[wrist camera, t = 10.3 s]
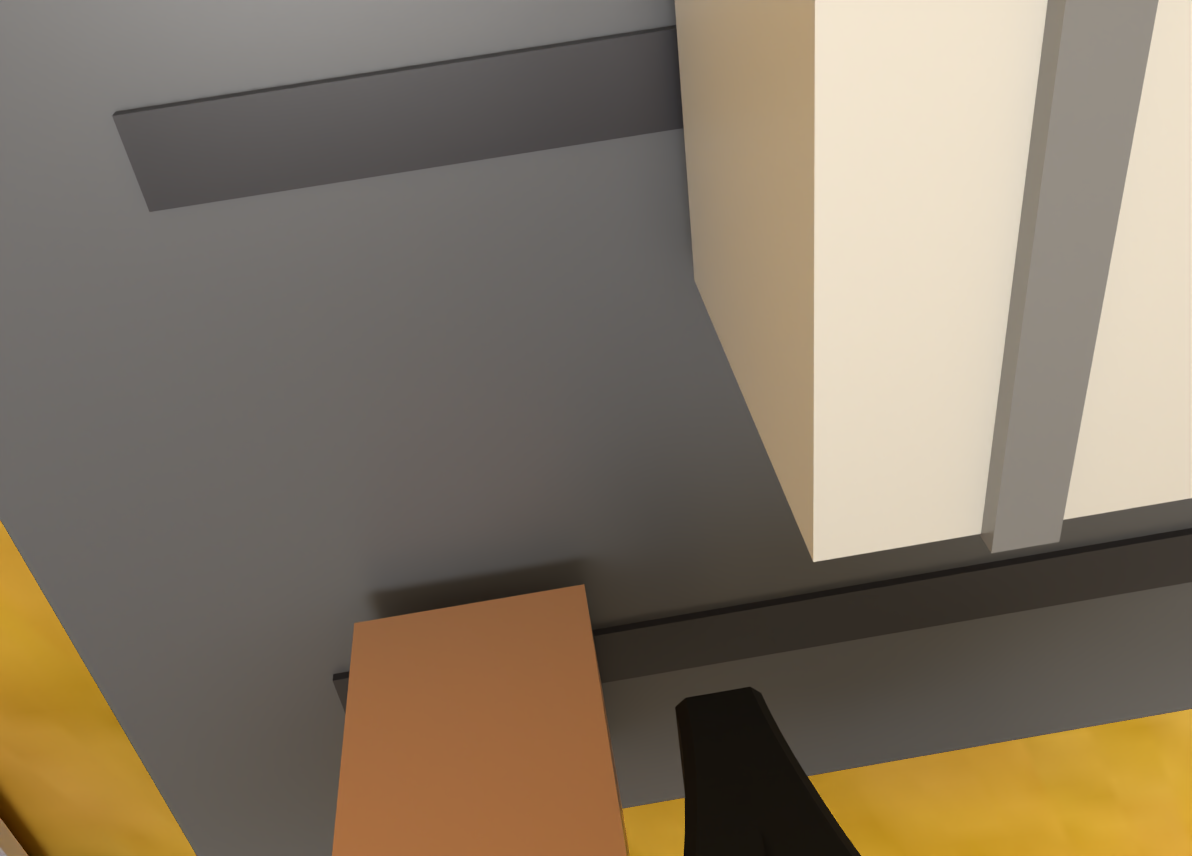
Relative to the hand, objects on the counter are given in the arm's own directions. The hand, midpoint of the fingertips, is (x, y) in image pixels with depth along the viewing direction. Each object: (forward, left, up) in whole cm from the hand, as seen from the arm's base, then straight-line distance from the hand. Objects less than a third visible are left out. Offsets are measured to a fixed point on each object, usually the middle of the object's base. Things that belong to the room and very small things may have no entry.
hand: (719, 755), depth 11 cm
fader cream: (+1, +6, -1) cm, 7 cm away
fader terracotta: (-2, 0, -1) cm, 3 cm away
